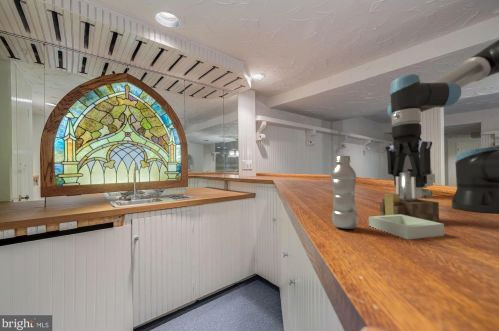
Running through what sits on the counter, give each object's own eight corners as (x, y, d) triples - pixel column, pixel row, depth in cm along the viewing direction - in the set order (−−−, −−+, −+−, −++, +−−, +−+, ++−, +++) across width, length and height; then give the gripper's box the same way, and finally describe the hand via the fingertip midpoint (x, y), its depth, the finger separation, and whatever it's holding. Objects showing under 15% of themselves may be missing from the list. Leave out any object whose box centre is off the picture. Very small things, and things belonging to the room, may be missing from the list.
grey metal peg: (408, 217, 66) (406, 172, 67) (422, 220, 62) (420, 172, 62) (397, 218, 65) (395, 172, 66) (410, 221, 61) (409, 172, 61)
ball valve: (426, 199, 103) (425, 165, 103) (406, 198, 110) (405, 166, 110) (437, 196, 113) (436, 165, 113) (418, 195, 120) (417, 166, 120)
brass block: (391, 218, 64) (390, 193, 64) (400, 220, 61) (399, 194, 61) (385, 218, 63) (384, 193, 64) (393, 220, 61) (392, 194, 61)
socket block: (406, 215, 70) (405, 197, 70) (439, 222, 60) (438, 202, 60) (375, 217, 67) (374, 199, 67) (404, 225, 57) (403, 204, 57)
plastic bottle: (348, 233, 51) (345, 155, 51) (326, 226, 57) (325, 156, 57) (363, 229, 54) (361, 155, 54) (341, 223, 60) (340, 157, 60)
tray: (400, 223, 59) (400, 214, 59) (444, 235, 48) (443, 223, 48) (369, 226, 56) (368, 216, 56) (407, 239, 46) (407, 227, 46)
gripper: (373, 130, 72) (375, 194, 72) (426, 117, 55) (429, 201, 54) (390, 130, 74) (393, 193, 73) (446, 118, 57) (450, 200, 56)
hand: (408, 196), depth 64 cm, fingers open, 4 cm apart
